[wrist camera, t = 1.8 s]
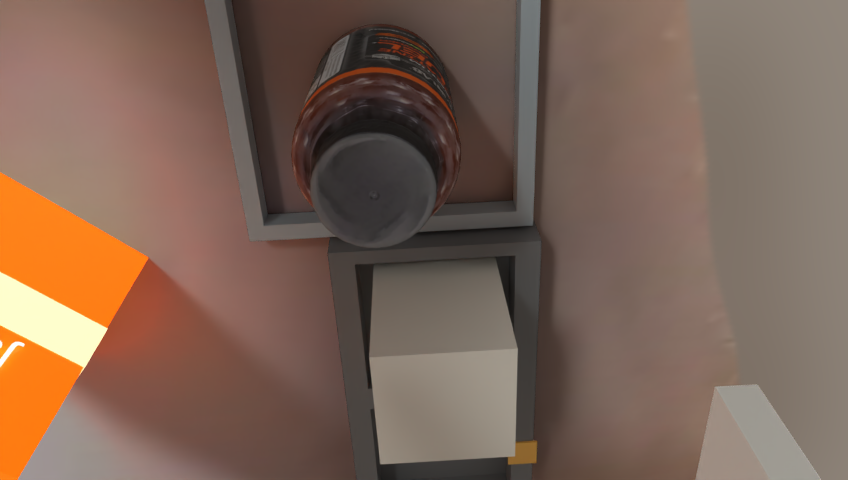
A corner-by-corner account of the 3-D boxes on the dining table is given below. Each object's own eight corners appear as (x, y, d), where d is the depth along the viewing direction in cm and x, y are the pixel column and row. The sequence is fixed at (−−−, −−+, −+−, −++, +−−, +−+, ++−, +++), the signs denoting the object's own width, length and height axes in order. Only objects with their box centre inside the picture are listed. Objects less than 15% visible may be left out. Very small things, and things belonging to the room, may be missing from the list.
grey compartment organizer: (331, 229, 35) (315, 330, 28) (536, 217, 35) (574, 315, 28) (362, 484, 44) (356, 613, 37) (527, 474, 44) (553, 600, 37)
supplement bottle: (473, 62, 32) (509, 161, 22) (407, 170, 34) (412, 305, 24) (352, -8, 30) (331, 66, 20) (292, 111, 32) (247, 229, 22)
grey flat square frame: (199, -70, 28) (191, -66, 27) (538, -87, 29) (543, -85, 28) (254, 229, 35) (249, 241, 34) (528, 213, 35) (533, 225, 34)
